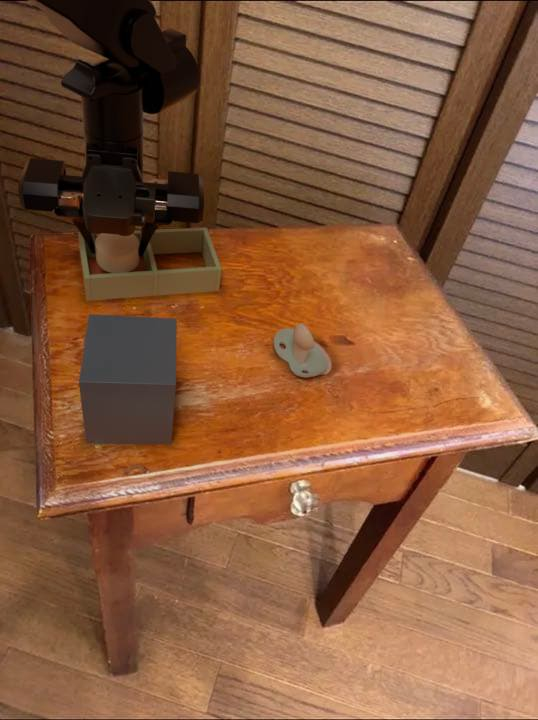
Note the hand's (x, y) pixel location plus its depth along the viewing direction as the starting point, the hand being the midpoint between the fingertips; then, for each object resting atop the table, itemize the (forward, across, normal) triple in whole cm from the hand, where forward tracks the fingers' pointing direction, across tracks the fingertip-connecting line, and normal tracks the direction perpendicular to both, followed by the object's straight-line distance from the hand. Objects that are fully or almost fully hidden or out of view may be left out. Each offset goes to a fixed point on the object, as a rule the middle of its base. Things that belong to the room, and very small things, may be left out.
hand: (117, 252), depth 69 cm
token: (+1, 0, 0) cm, 1 cm away
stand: (+4, +3, -20) cm, 21 cm away
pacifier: (+4, +22, -12) cm, 25 cm away
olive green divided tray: (+4, +4, +1) cm, 6 cm away
